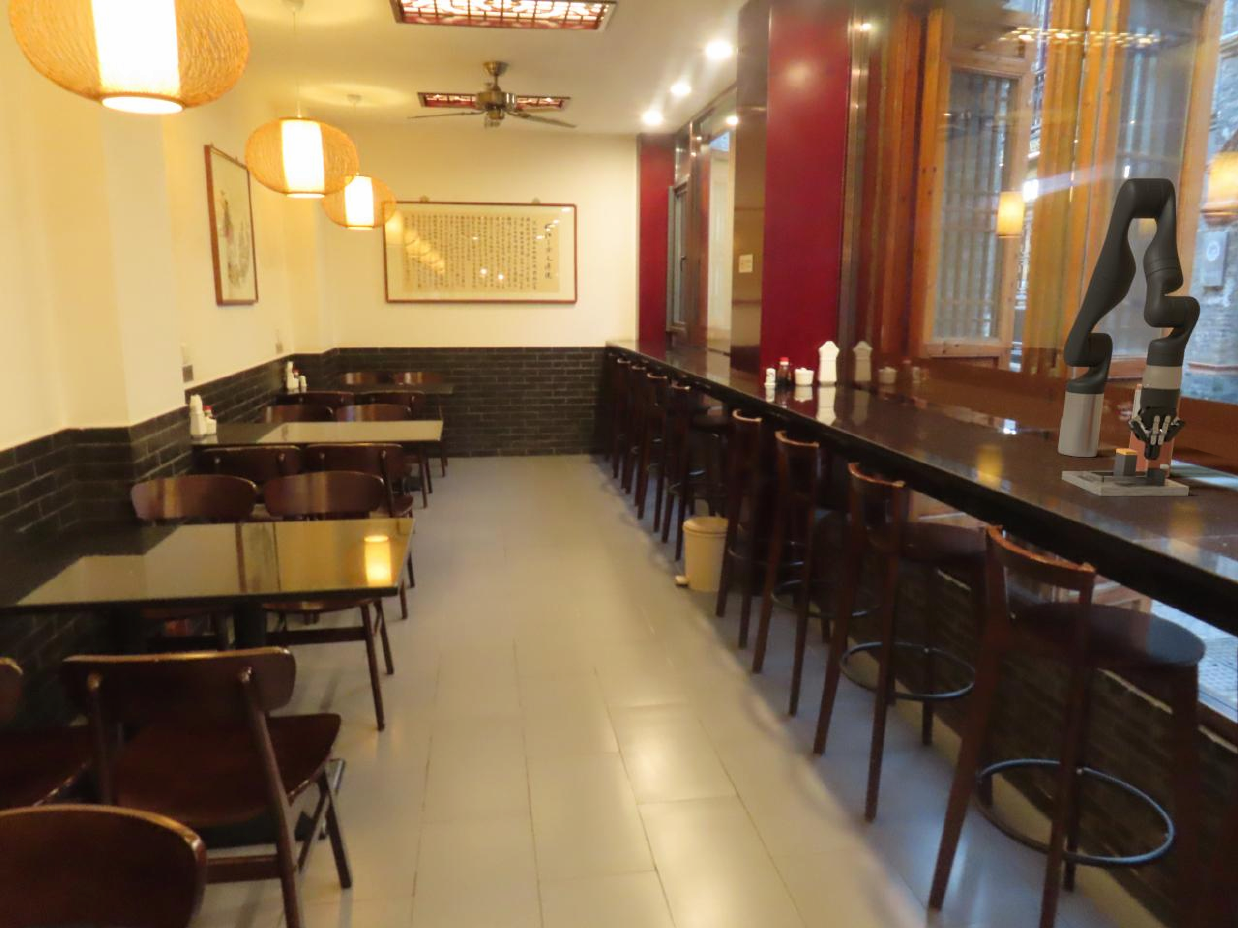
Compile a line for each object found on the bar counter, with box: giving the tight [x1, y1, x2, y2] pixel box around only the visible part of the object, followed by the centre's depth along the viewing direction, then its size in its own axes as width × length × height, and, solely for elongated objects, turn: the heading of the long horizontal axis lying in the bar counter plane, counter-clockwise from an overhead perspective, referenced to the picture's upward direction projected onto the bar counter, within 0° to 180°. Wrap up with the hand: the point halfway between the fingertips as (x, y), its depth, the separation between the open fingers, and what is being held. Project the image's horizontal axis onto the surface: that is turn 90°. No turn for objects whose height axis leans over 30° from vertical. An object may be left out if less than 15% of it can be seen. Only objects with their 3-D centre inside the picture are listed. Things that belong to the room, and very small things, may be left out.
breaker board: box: [1061, 468, 1190, 497], centre depth 197 cm, size 16×20×6 cm
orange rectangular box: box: [1128, 383, 1182, 478], centre depth 211 cm, size 21×7×15 cm
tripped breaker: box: [1113, 448, 1138, 476], centre depth 196 cm, size 4×3×6 cm
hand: (1150, 459), depth 196 cm, fingers closed
